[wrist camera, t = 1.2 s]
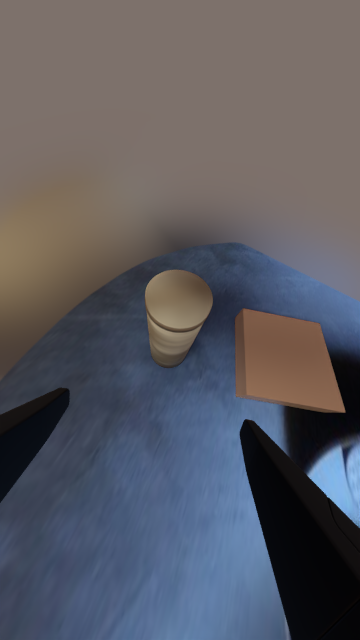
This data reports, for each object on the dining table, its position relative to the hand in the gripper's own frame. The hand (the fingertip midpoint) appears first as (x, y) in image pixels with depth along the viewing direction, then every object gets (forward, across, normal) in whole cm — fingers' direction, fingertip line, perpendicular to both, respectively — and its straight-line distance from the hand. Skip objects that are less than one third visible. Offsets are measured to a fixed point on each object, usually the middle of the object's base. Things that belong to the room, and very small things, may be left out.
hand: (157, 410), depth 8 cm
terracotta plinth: (+16, -16, +3) cm, 22 cm away
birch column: (+15, 0, +4) cm, 15 cm away
